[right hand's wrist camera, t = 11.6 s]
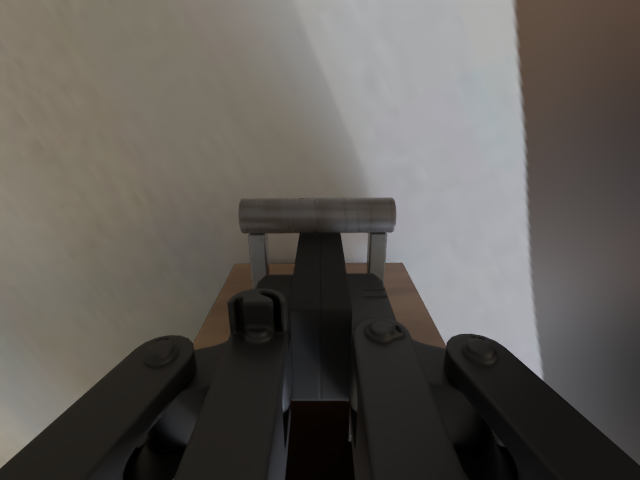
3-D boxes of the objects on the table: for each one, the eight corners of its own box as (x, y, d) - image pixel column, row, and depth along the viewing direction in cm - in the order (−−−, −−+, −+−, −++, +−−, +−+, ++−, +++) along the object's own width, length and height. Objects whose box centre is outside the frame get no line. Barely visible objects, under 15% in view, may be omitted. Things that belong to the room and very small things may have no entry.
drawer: (224, 171, 17) (155, 220, 10) (410, 169, 17) (477, 218, 10) (256, 471, 25) (230, 623, 18) (384, 470, 25) (411, 622, 18)
